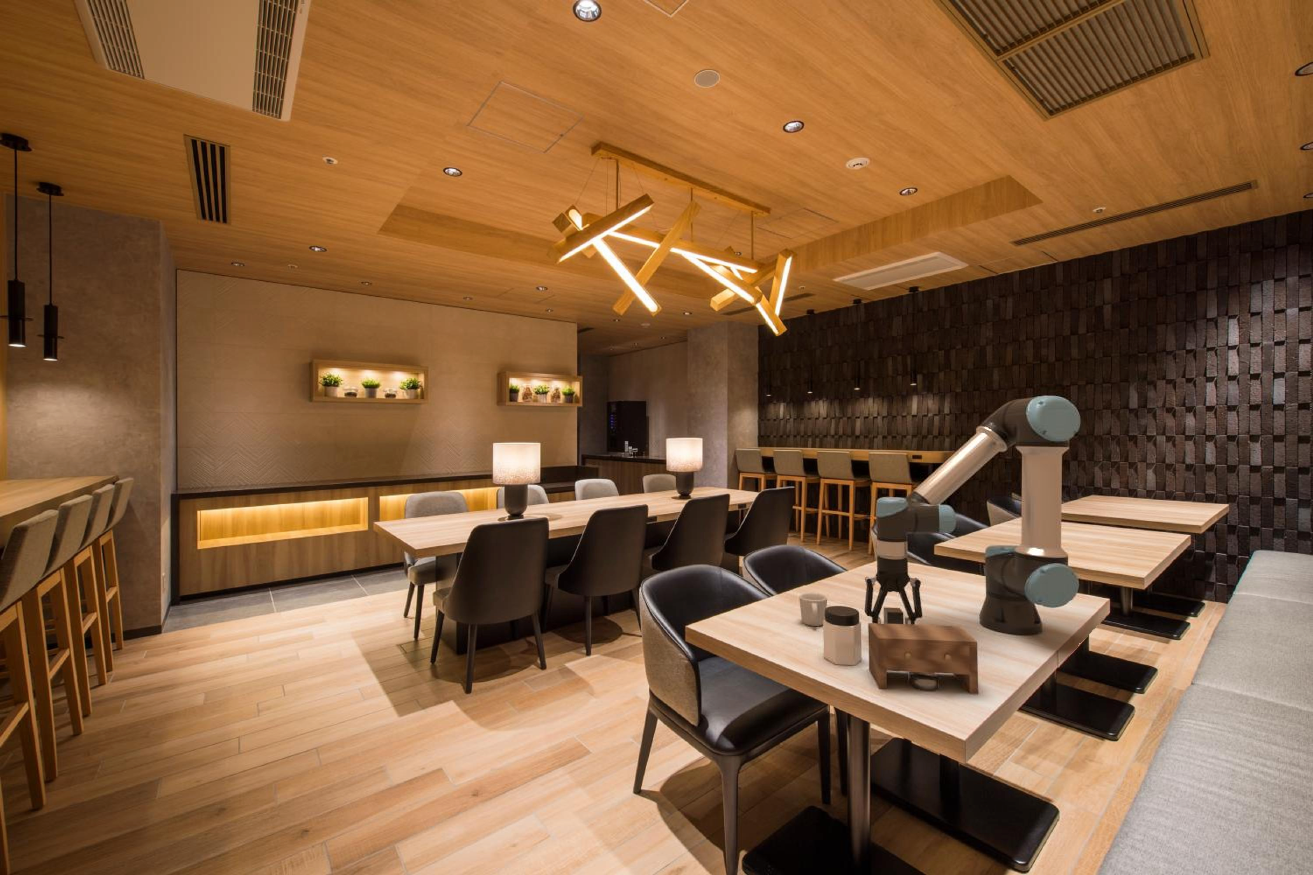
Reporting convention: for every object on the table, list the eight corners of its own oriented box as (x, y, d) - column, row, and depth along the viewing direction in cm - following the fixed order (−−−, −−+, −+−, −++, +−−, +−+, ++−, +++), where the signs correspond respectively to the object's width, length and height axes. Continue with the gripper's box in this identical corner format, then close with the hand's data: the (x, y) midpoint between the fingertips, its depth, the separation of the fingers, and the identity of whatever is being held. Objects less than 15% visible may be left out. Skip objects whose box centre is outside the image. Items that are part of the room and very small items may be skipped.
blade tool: (899, 641, 148) (899, 607, 148) (921, 671, 130) (921, 632, 130) (884, 640, 149) (883, 607, 149) (903, 670, 130) (903, 632, 130)
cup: (830, 632, 156) (829, 603, 157) (800, 630, 158) (800, 602, 158) (826, 619, 167) (825, 593, 167) (799, 618, 169) (798, 592, 169)
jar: (833, 649, 143) (832, 603, 143) (865, 657, 138) (864, 608, 138) (819, 660, 136) (818, 611, 137) (852, 668, 131) (851, 618, 131)
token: (933, 680, 125) (933, 669, 125) (942, 692, 119) (942, 681, 119) (905, 679, 125) (905, 668, 125) (913, 691, 120) (913, 679, 120)
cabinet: (960, 673, 127) (959, 626, 127) (979, 695, 117) (978, 643, 117) (869, 669, 131) (868, 622, 131) (879, 690, 120) (878, 639, 120)
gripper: (926, 553, 149) (928, 639, 149) (850, 552, 152) (852, 636, 152) (936, 559, 142) (937, 650, 141) (856, 558, 145) (857, 646, 145)
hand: (893, 642), depth 147 cm, fingers open, 7 cm apart
